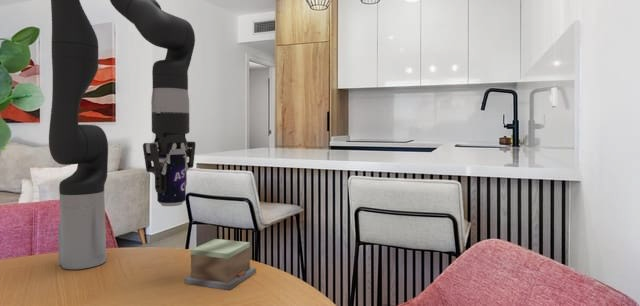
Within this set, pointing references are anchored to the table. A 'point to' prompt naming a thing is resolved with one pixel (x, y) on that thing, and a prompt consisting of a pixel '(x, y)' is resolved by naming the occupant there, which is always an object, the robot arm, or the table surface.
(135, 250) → the table surface
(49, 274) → the table surface
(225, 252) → the block
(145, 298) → the table surface
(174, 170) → the beverage can
